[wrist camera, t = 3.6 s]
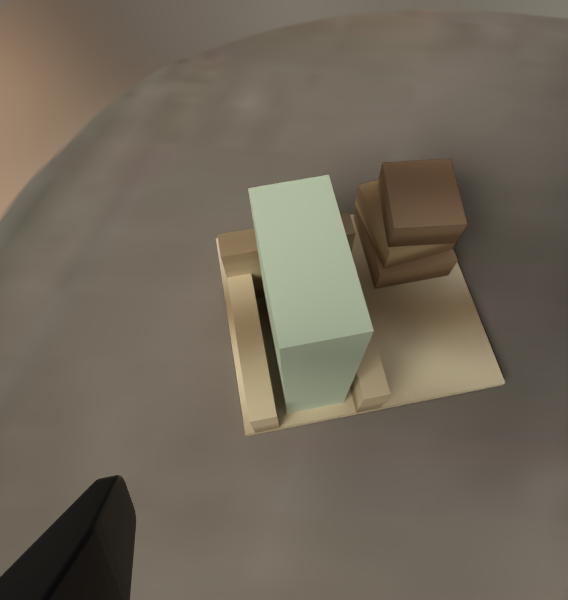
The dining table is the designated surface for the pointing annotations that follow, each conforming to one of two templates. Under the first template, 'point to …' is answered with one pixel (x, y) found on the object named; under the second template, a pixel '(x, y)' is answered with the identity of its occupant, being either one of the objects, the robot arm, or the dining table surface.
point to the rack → (375, 303)
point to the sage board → (310, 291)
